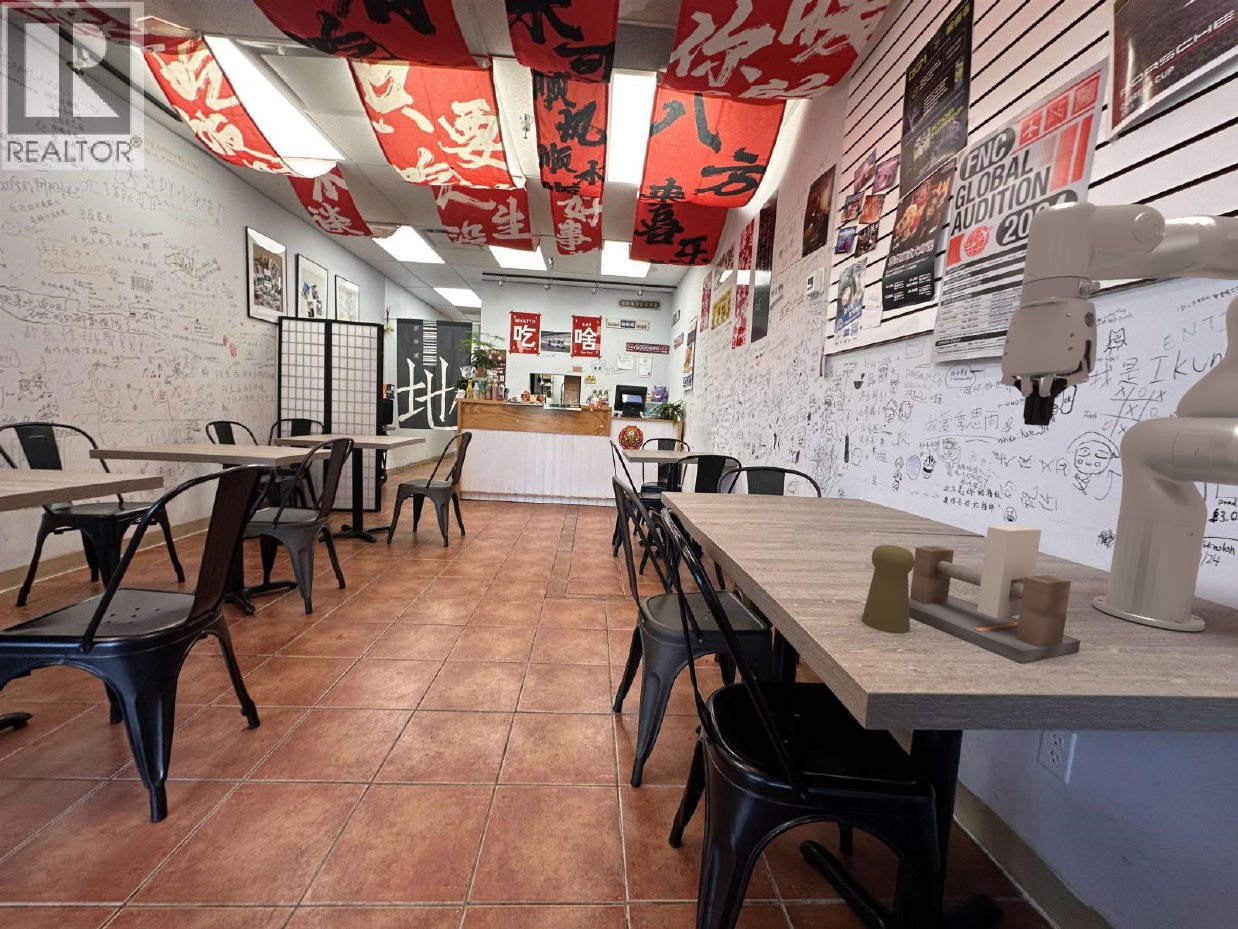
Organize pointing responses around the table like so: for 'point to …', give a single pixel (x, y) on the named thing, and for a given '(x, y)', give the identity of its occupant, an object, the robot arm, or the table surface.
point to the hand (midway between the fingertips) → (1036, 424)
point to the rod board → (1005, 636)
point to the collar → (1006, 567)
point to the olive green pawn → (889, 590)
